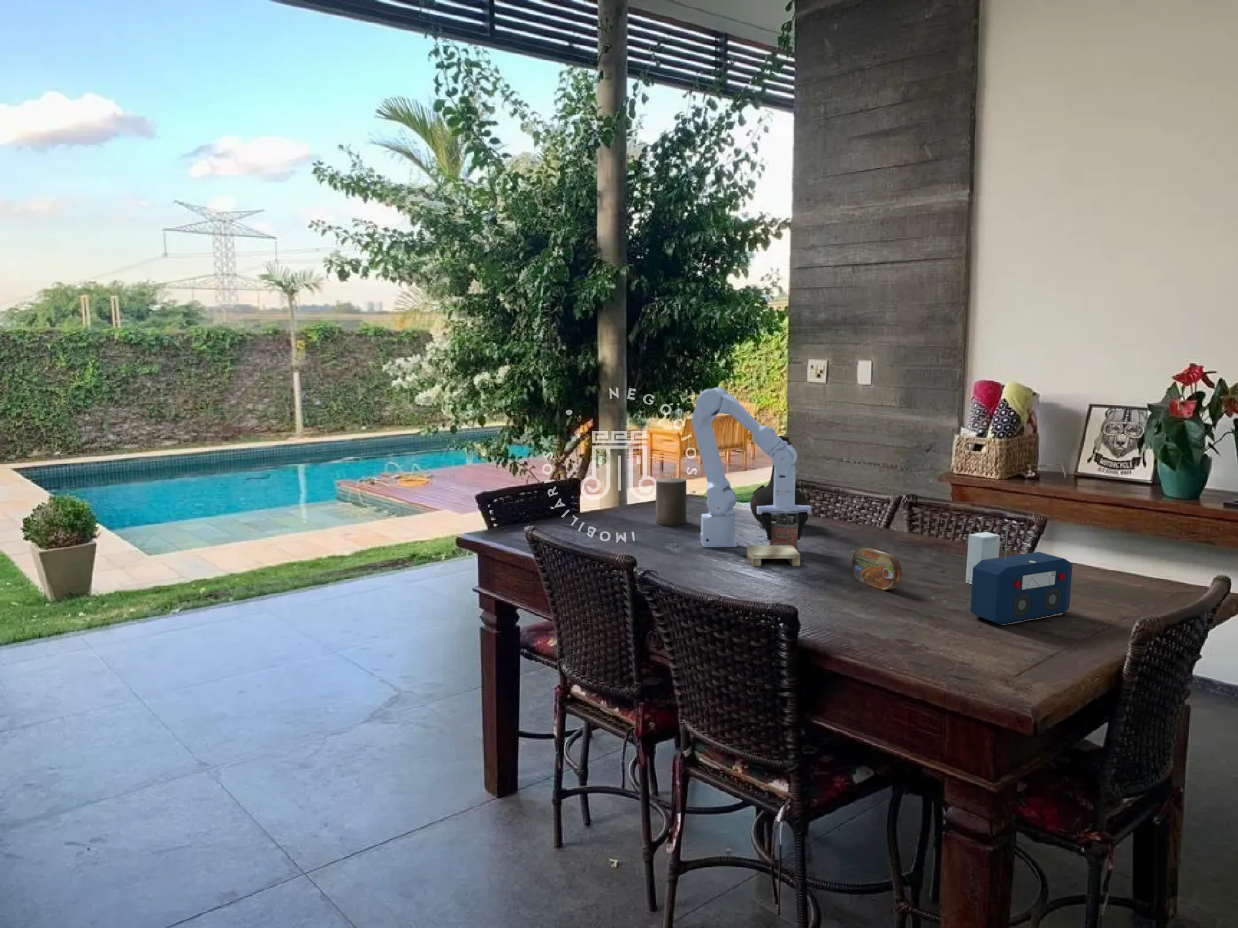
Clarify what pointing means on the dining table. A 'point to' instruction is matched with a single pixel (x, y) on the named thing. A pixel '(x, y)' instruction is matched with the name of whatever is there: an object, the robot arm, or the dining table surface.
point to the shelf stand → (773, 554)
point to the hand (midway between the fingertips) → (783, 539)
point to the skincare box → (981, 550)
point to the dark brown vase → (766, 495)
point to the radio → (1020, 587)
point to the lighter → (784, 531)
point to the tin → (876, 568)
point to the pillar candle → (671, 501)
